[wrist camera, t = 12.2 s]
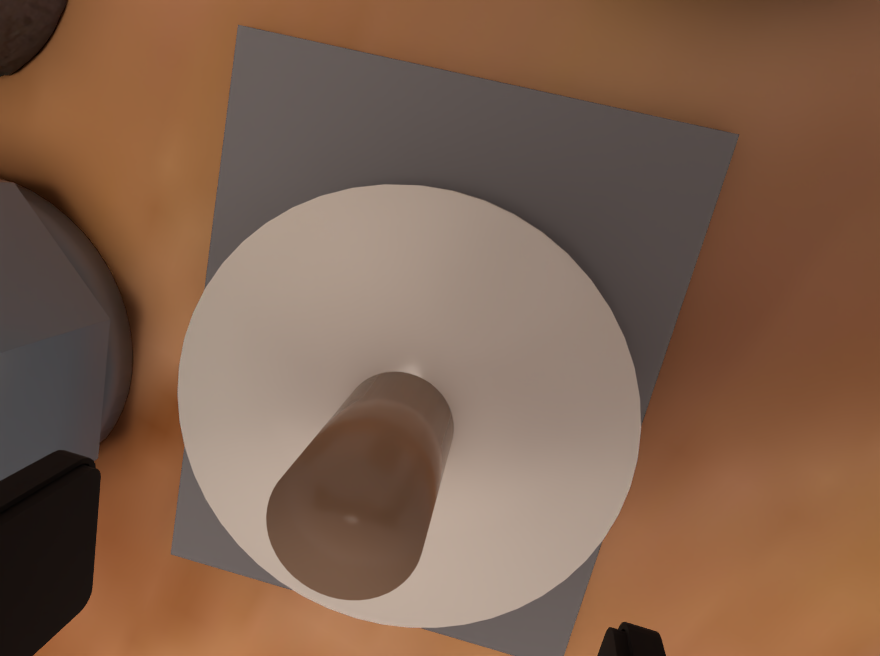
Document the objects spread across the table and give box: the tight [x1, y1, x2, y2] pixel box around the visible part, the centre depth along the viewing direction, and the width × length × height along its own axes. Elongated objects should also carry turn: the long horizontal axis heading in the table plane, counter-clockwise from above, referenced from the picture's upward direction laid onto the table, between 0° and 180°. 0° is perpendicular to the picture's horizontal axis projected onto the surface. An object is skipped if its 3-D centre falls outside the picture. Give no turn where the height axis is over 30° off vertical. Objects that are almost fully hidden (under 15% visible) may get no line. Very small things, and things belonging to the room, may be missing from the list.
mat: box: [171, 25, 739, 656], centre depth 21 cm, size 16×20×1 cm
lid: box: [178, 184, 641, 628], centre depth 17 cm, size 15×15×8 cm
